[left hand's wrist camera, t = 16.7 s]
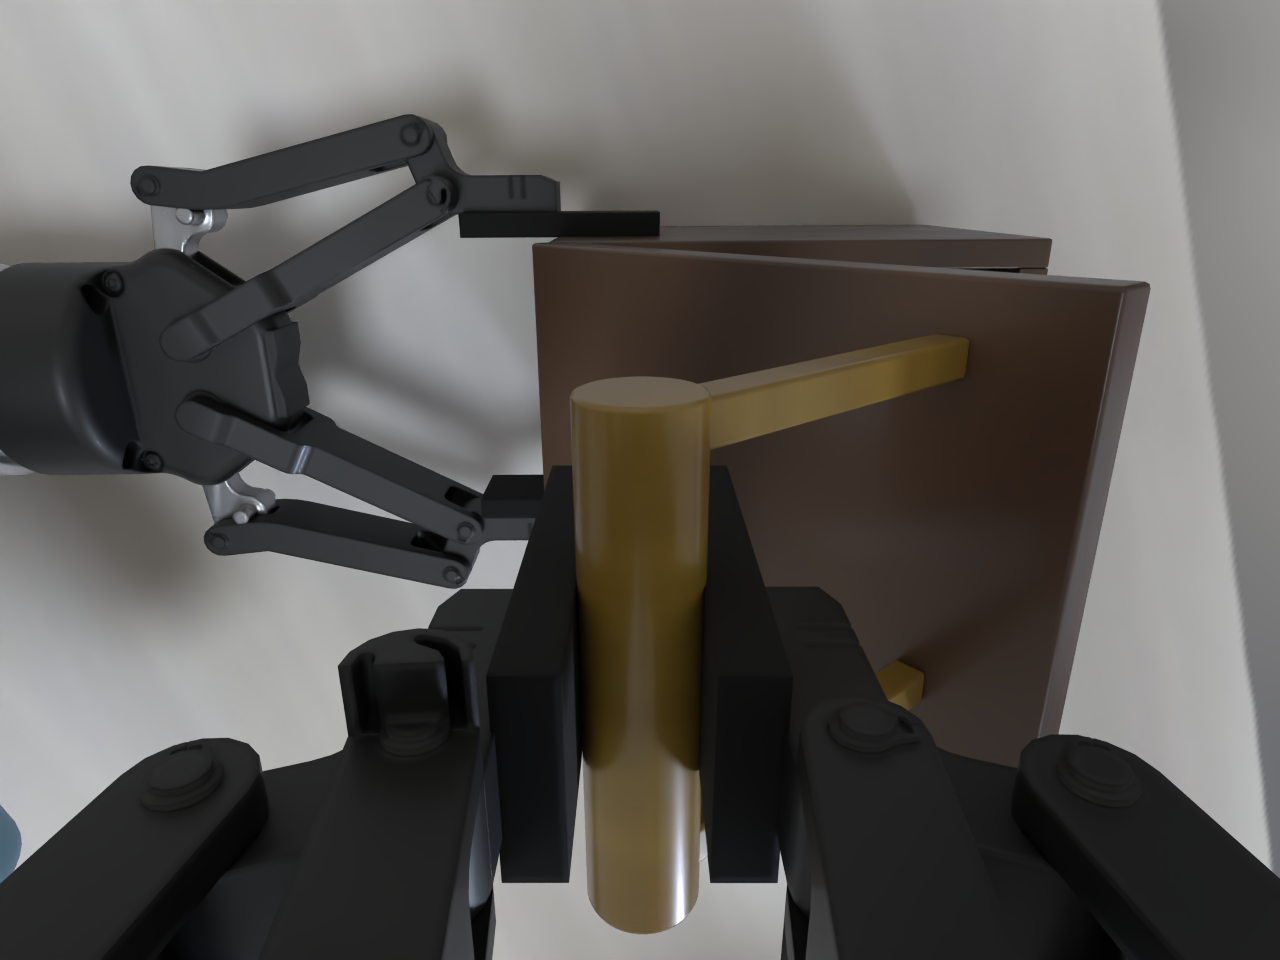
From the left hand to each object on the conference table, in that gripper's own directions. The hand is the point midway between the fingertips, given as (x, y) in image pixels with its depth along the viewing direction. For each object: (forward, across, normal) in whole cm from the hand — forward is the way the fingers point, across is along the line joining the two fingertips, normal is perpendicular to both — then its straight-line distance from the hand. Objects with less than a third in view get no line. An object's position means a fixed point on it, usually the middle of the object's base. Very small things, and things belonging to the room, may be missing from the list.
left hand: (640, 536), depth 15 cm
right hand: (+15, -1, 0) cm, 15 cm away
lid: (+5, -3, 0) cm, 6 cm away
